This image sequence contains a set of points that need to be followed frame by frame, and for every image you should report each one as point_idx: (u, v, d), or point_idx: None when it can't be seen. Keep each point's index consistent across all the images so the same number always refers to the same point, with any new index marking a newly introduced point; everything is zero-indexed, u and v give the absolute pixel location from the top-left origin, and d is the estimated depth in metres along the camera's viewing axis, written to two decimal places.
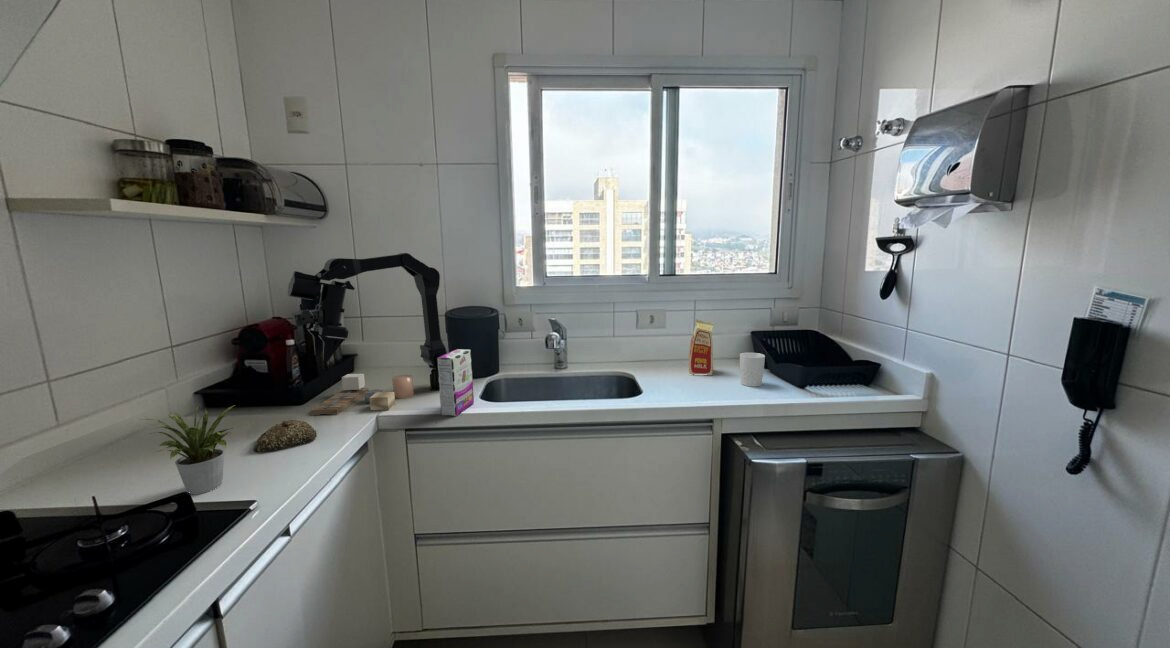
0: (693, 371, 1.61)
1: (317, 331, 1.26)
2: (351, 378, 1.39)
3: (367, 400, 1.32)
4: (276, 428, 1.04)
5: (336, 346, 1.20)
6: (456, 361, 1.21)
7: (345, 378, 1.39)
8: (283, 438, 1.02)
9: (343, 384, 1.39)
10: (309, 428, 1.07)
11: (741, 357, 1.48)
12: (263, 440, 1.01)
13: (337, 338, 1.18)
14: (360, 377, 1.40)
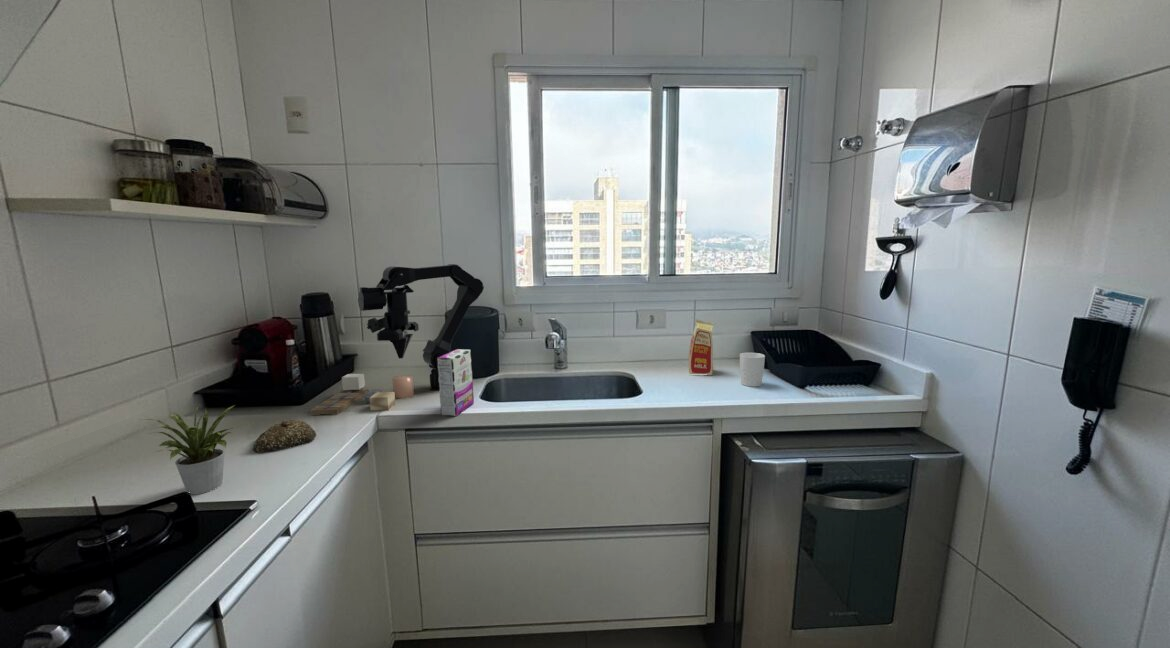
0: (693, 371, 1.61)
1: None
2: (351, 378, 1.39)
3: (367, 400, 1.32)
4: (275, 428, 1.04)
5: (403, 344, 1.36)
6: (455, 361, 1.21)
7: (345, 378, 1.39)
8: (282, 438, 1.02)
9: (343, 384, 1.39)
10: (308, 428, 1.07)
11: (741, 357, 1.48)
12: (262, 440, 1.01)
13: None
14: (360, 377, 1.40)
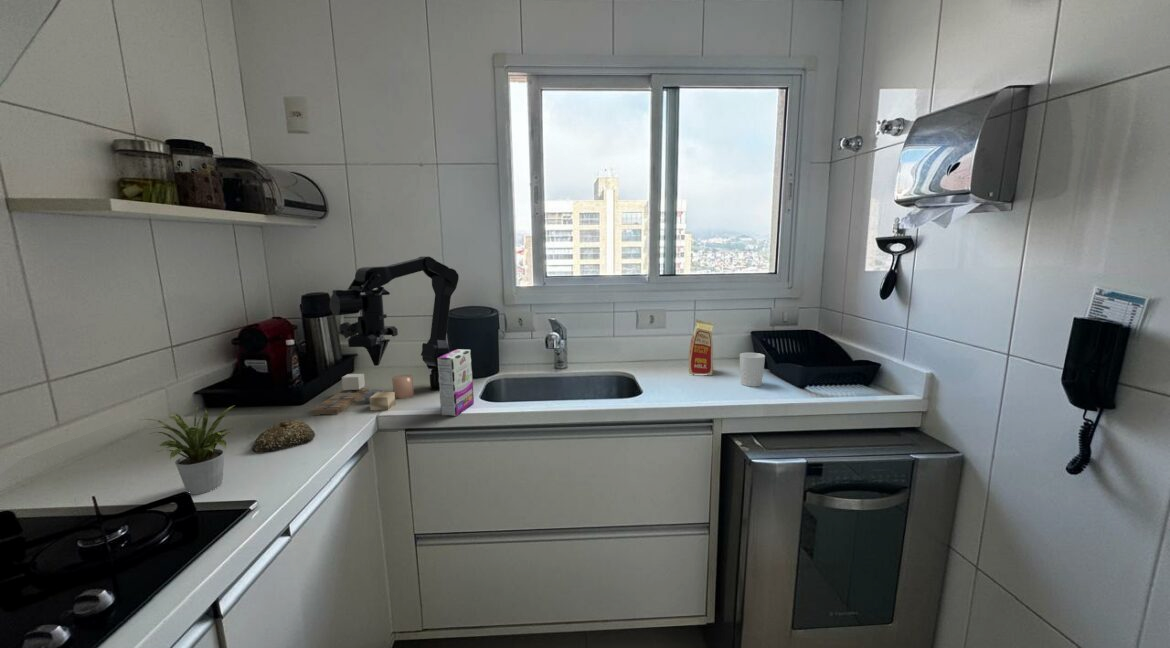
0: (693, 371, 1.61)
1: None
2: (351, 378, 1.39)
3: (367, 400, 1.32)
4: (274, 428, 1.04)
5: (378, 351, 1.27)
6: (456, 361, 1.21)
7: (345, 378, 1.39)
8: (281, 438, 1.02)
9: (343, 384, 1.39)
10: (307, 428, 1.07)
11: (741, 357, 1.48)
12: (261, 440, 1.01)
13: None
14: (360, 377, 1.40)
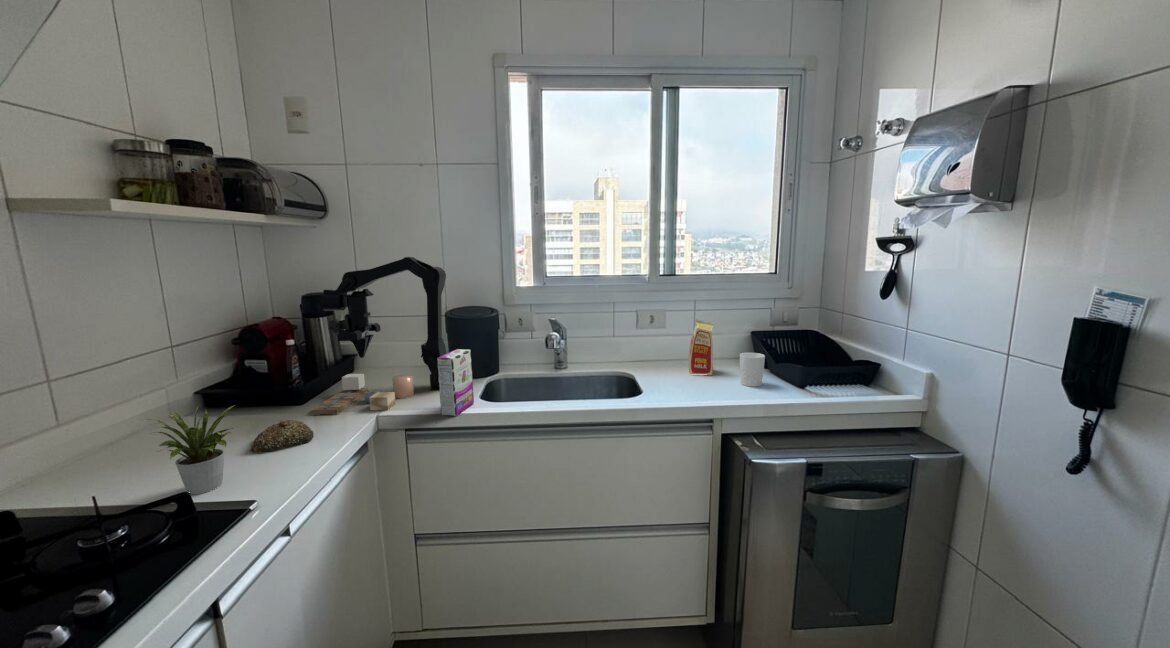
0: (693, 371, 1.61)
1: None
2: (351, 378, 1.39)
3: (367, 400, 1.32)
4: (273, 428, 1.04)
5: (363, 344, 1.44)
6: (455, 361, 1.21)
7: (345, 378, 1.39)
8: (280, 439, 1.02)
9: (343, 384, 1.39)
10: (306, 428, 1.06)
11: (741, 357, 1.48)
12: (260, 440, 1.01)
13: None
14: (360, 377, 1.40)
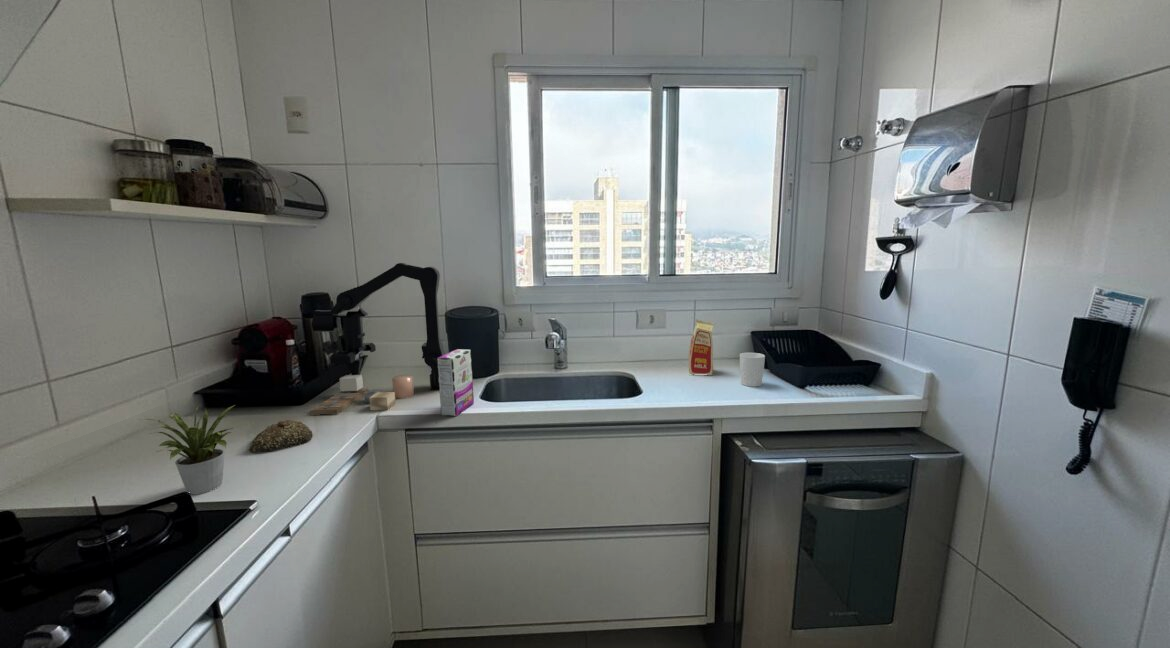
0: (693, 371, 1.61)
1: None
2: (349, 379, 1.37)
3: (367, 400, 1.32)
4: (272, 428, 1.04)
5: (357, 366, 1.40)
6: (456, 361, 1.21)
7: (343, 379, 1.37)
8: (278, 439, 1.01)
9: (341, 385, 1.37)
10: (305, 428, 1.06)
11: (741, 357, 1.48)
12: (258, 440, 1.01)
13: None
14: (358, 378, 1.39)
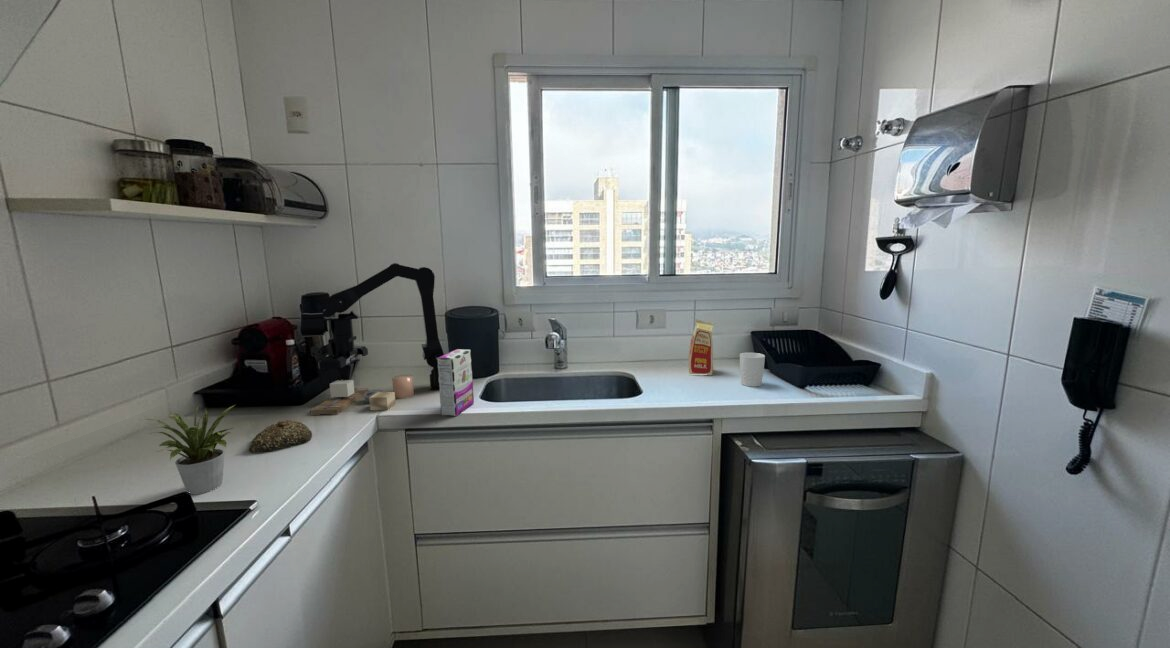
0: (693, 371, 1.61)
1: None
2: (339, 385, 1.31)
3: (367, 400, 1.32)
4: (271, 428, 1.04)
5: (348, 371, 1.34)
6: (455, 361, 1.21)
7: (333, 385, 1.31)
8: (278, 439, 1.01)
9: (331, 391, 1.32)
10: (304, 428, 1.06)
11: (741, 357, 1.48)
12: (258, 440, 1.01)
13: None
14: (349, 384, 1.33)
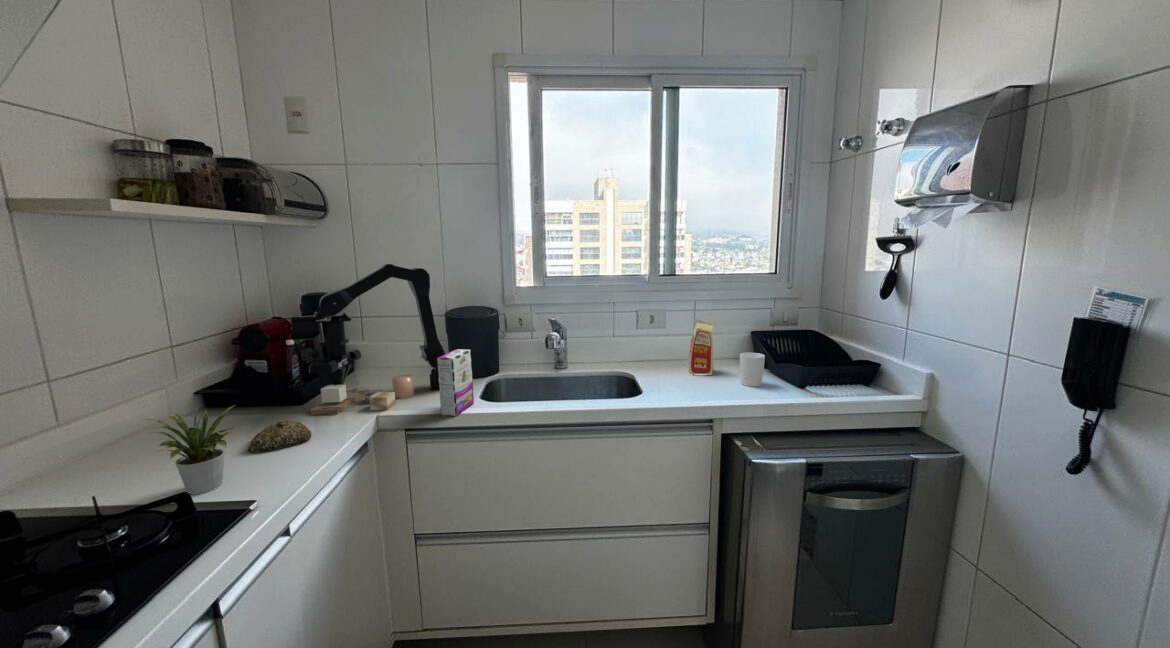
0: (693, 371, 1.61)
1: None
2: (331, 390, 1.27)
3: (367, 400, 1.32)
4: (270, 428, 1.04)
5: (340, 375, 1.30)
6: (456, 361, 1.21)
7: (324, 390, 1.27)
8: (277, 439, 1.01)
9: (322, 396, 1.27)
10: (304, 428, 1.06)
11: (741, 357, 1.48)
12: (257, 440, 1.01)
13: None
14: (341, 388, 1.28)
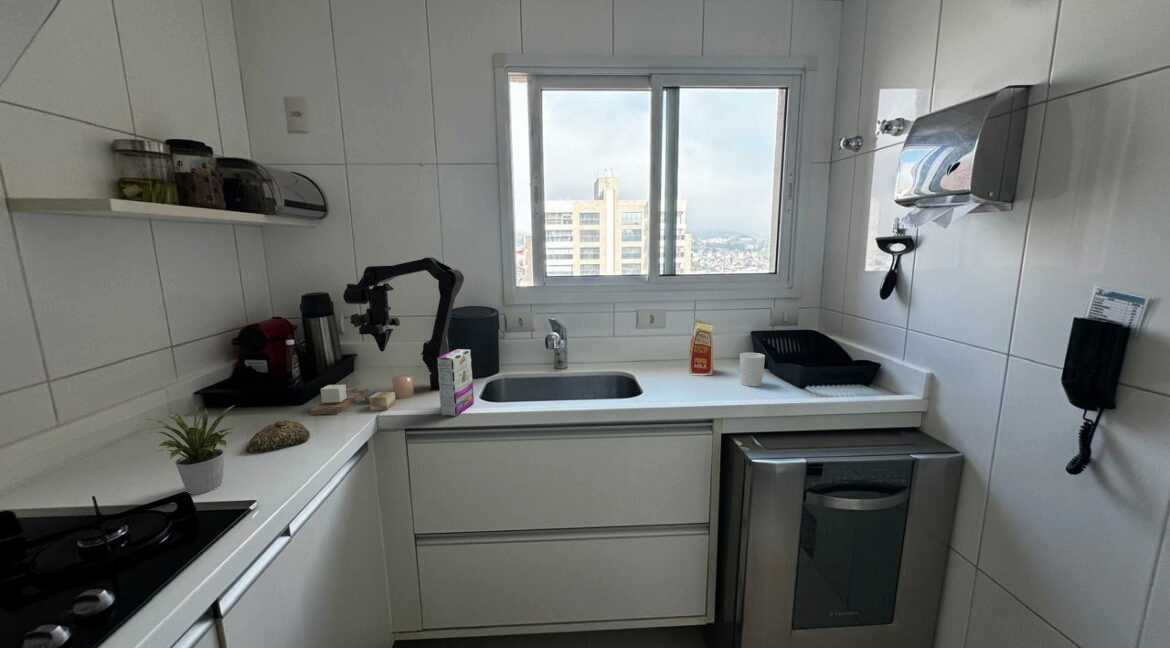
0: (693, 371, 1.61)
1: None
2: (331, 390, 1.27)
3: (367, 400, 1.32)
4: (269, 429, 1.04)
5: (384, 338, 1.46)
6: (456, 361, 1.21)
7: (324, 390, 1.27)
8: (275, 439, 1.01)
9: (322, 396, 1.27)
10: (302, 429, 1.06)
11: (741, 357, 1.48)
12: (255, 441, 1.00)
13: None
14: (341, 388, 1.28)
